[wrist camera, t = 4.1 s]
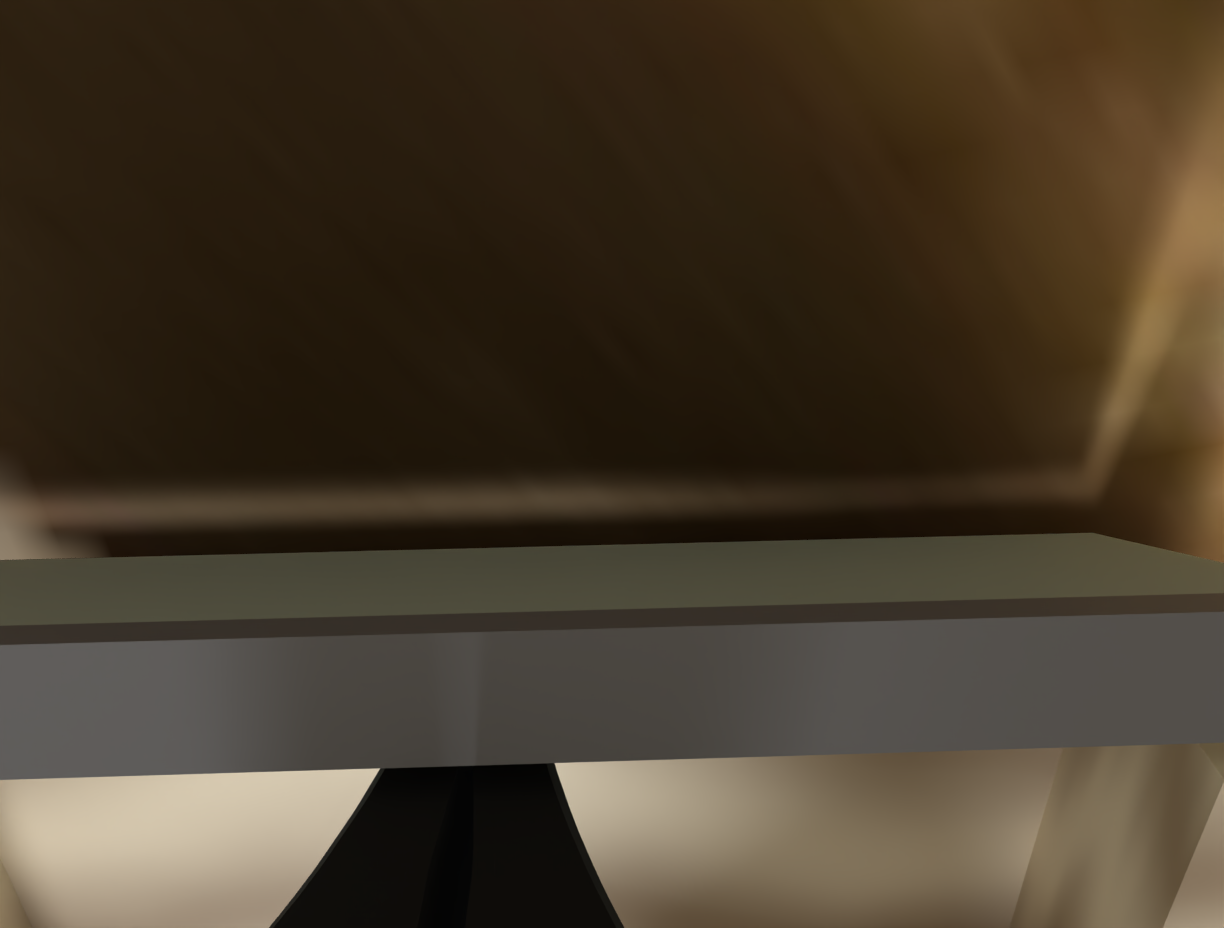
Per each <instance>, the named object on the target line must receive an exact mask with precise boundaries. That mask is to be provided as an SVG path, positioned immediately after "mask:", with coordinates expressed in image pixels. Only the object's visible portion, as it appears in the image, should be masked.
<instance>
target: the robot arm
mask: <svg viewBox="0 0 1224 928" xmlns="http://www.w3.org/2000/svg"><path fill="white" fill-rule="evenodd" d="M269 928H624V926H623V924H622V922H621V920H620V918H619V917H618V915H617V913H616V911H615V909H614V907H613V905H612V903H611V901H610V899H609V897H608V895H607V893H606V891H605V889H604V887H603V885H602V883H601V881H600V879H599V876H598V874H597V872H596V870H595V868H594V866H593V863H592V861H591V859H590V857H589V854H588V852H587V850H586V847H585V845H584V843H583V840H582V838H581V836H580V833H579V831H578V828H577V826H576V823H575V821H574V818H573V815H572V813H571V810H570V807H569V805H568V802H567V799H566V796H565V793H564V790H563V787H562V784H561V781H560V779H559V776H558V773H557V770H556V766H555V763H542V764H510V765H477V766H444V767H411V768H380V770H379V771H378V773H377V775H376V776H375V778H374V779H373V781H372V783H371V784H370V786H369V788H368V789H367V791H366V793H365V794H364V796H363V798H362V799H361V801H360V803H359V804H358V806H357V807H356V809H355V811H354V812H353V814H352V815H351V817H350V818H349V820H348V821H347V823H346V824H345V826H344V827H343V828H342V830H341V831H340V833H339V834H338V836H337V837H336V839H335V840H334V842H333V843H332V844H331V846H330V847H329V849H328V850H327V852H326V853H325V855H324V856H323V858H322V859H321V860H320V862H319V863H318V865H317V866H316V868H315V869H314V870H313V872H312V873H311V874H310V876H309V877H308V878H307V880H306V881H305V882H304V884H303V885H302V886H301V888H300V889H299V890H298V892H297V893H296V894H295V896H294V897H293V898H292V899H291V901H290V902H289V903H288V905H287V906H286V907H285V908H284V910H283V911H282V912H281V913H280V915H279V916H278V917H277V918H276V919H275V921H274V922H273V923H272V924H271V926H270V927H269Z"/></svg>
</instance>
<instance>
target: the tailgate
mask: <svg viewBox="0 0 1224 928" xmlns="http://www.w3.org/2000/svg"><path fill="white" fill-rule="evenodd" d="M1198 743H1224V563H1222V562H1218V561H1213V560H1209V559H1205V558H1200V557H1196V556H1192V555H1187V554H1183V553H1179V552H1174V551H1170V550H1165V549H1161V548H1157V547H1152V546H1148V545H1144V544H1139V543H1135V542H1131V541H1126V540H1122V539H1118V538H1113V537H1109V536H1105V535H1100V534H1096V533H1063V534H1024V535H984V536H944V537H904V538H864V539H824V540H784V541H745V542H705V543H665V544H625V545H585V546H545V547H506V548H466V549H426V550H386V551H346V552H306V553H267V554H227V555H187V556H147V557H107V558H67V559H27V560H0V780H18V779H51V778H83V777H116V776H149V775H182V774H215V773H247V772H280V771H313V770H346V769H379V768H411V767H444V766H477V765H510V764H542V763H575V762H608V761H641V760H674V759H706V758H739V757H772V756H805V755H837V754H870V753H903V752H936V751H969V750H1001V749H1034V748H1067V747H1100V746H1132V745H1165V744H1198Z"/></svg>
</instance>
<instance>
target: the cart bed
mask: <svg viewBox="0 0 1224 928" xmlns="http://www.w3.org/2000/svg"><path fill="white" fill-rule="evenodd" d="M555 766H556V770H557V773H558V776H559V779H560V781H561V784H562V787H563V790H564V793H565V796H566V799H567V802H568V805H569V807H570V810H571V813H572V815H573V818H574V821H575V823H576V826H577V828H578V831H579V833H580V836H581V838H582V840H583V843H584V845H585V847H586V850H587V852H588V854H589V857H590V859H591V861H592V863H593V866H594V868H595V870H596V872H597V874H598V876H599V879H600V881H601V883H602V885H603V887H604V889H605V891H606V893H607V895H608V897H609V899H610V901H611V903H612V905H613V907H614V909H615V911H616V913H617V915H618V917H619V918H620V920H621V922H622V924H623V926H624V928H1224V743H1198V744H1165V745H1132V746H1100V747H1067V748H1034V749H1001V750H969V751H936V752H903V753H870V754H837V755H805V756H772V757H739V758H706V759H674V760H641V761H608V762H575V763H555ZM379 770H380V768H379V769H346V770H313V771H280V772H247V773H215V774H182V775H149V776H116V777H83V778H51V779H18V780H0V928H269V927H270V926H271V924H272V923H273V922H274V921H275V919H276V918H277V917H278V916H279V915H280V913H281V912H282V911H283V910H284V908H285V907H286V906H287V905H288V903H289V902H290V901H291V899H292V898H293V897H294V896H295V894H296V893H297V892H298V890H299V889H300V888H301V886H302V885H303V884H304V882H305V881H306V880H307V878H308V877H309V876H310V874H311V873H312V872H313V870H314V869H315V868H316V866H317V865H318V863H319V862H320V860H321V859H322V858H323V856H324V855H325V853H326V852H327V850H328V849H329V847H330V846H331V844H332V843H333V842H334V840H335V839H336V837H337V836H338V834H339V833H340V831H341V830H342V828H343V827H344V826H345V824H346V823H347V821H348V820H349V818H350V817H351V815H352V814H353V812H354V811H355V809H356V807H357V806H358V804H359V803H360V801H361V799H362V798H363V796H364V794H365V793H366V791H367V789H368V788H369V786H370V784H371V783H372V781H373V779H374V778H375V776H376V775H377V773H378V771H379Z"/></svg>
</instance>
